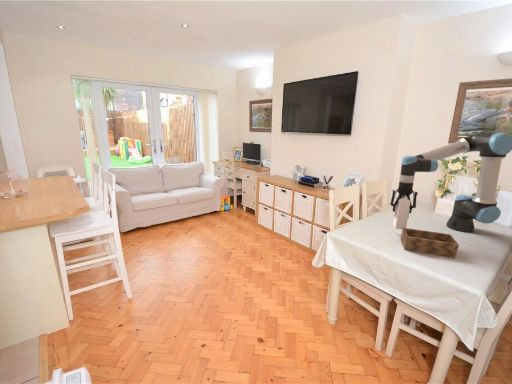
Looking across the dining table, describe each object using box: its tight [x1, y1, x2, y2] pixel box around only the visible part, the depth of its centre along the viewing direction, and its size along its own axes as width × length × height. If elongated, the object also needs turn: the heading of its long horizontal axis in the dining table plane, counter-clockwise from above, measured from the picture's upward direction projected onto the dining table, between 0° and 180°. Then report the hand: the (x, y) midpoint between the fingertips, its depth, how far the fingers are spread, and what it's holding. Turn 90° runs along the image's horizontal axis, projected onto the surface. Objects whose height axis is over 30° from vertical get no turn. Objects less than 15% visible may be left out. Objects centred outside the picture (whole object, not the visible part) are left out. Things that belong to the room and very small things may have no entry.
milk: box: [392, 195, 411, 230], centre depth 159 cm, size 6×6×22 cm
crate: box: [400, 227, 460, 259], centre depth 144 cm, size 24×14×8 cm, turn 68°
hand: (400, 217), depth 160 cm, fingers closed on milk, 6 cm apart
